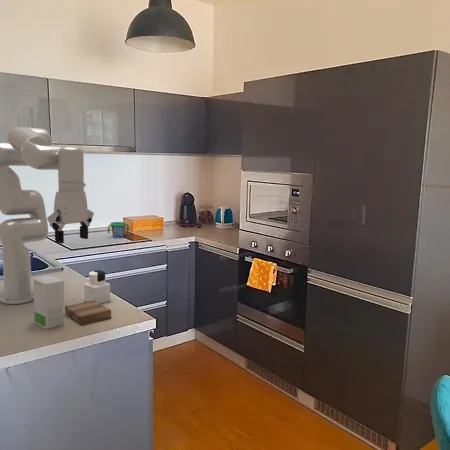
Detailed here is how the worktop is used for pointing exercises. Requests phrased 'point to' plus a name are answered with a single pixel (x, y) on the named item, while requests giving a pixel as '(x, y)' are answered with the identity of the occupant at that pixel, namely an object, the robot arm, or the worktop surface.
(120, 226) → the snack cup
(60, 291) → the skincare box
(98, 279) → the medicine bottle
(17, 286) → the robot arm
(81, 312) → the block
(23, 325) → the worktop surface
